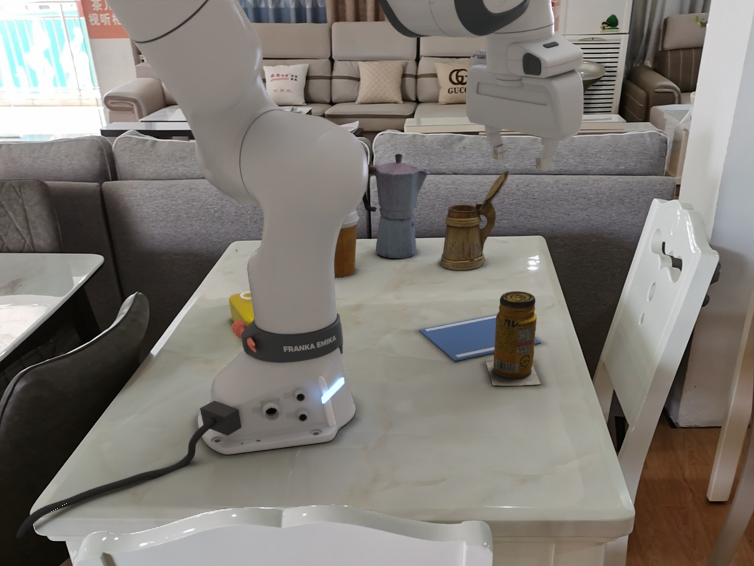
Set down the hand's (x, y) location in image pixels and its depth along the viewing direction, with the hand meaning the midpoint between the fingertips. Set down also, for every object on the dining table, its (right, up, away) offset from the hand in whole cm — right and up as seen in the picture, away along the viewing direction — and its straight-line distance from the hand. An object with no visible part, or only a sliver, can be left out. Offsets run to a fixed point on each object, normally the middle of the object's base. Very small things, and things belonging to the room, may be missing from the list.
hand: (521, 164), depth 111 cm
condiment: (0, -28, +10) cm, 30 cm away
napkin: (-4, -19, +22) cm, 29 cm away
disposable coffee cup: (-30, +1, +51) cm, 59 cm away
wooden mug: (-2, +4, +53) cm, 53 cm away
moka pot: (-19, +9, +60) cm, 63 cm away
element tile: (-39, -15, +29) cm, 51 cm away
